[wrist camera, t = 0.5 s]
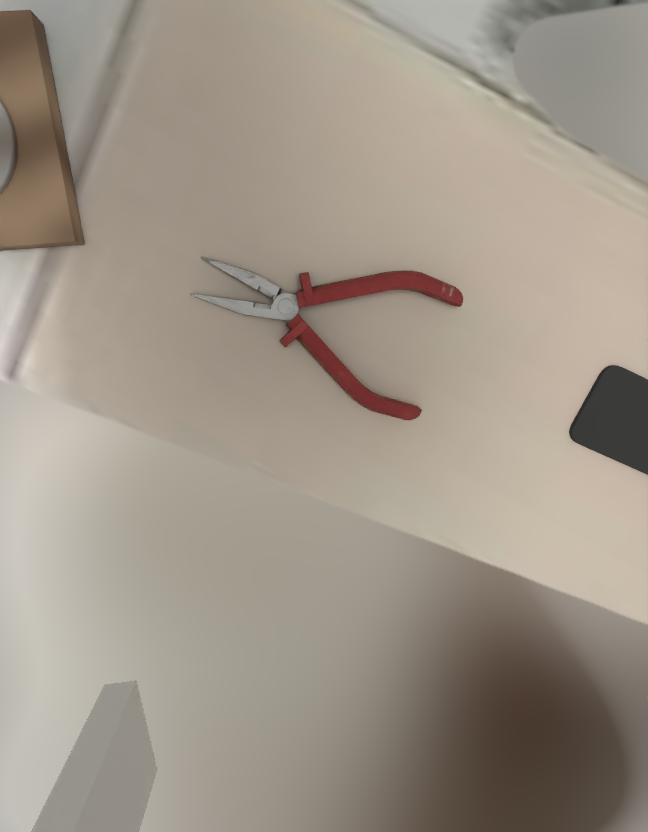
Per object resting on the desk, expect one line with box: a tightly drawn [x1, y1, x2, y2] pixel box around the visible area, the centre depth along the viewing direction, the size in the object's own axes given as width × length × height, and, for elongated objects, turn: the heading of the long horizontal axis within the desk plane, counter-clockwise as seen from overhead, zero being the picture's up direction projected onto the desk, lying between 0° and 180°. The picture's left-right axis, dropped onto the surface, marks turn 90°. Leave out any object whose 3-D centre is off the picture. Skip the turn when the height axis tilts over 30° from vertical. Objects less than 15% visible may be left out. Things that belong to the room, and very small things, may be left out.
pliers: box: [191, 257, 463, 420], centre depth 35 cm, size 12×20×3 cm, turn 72°
